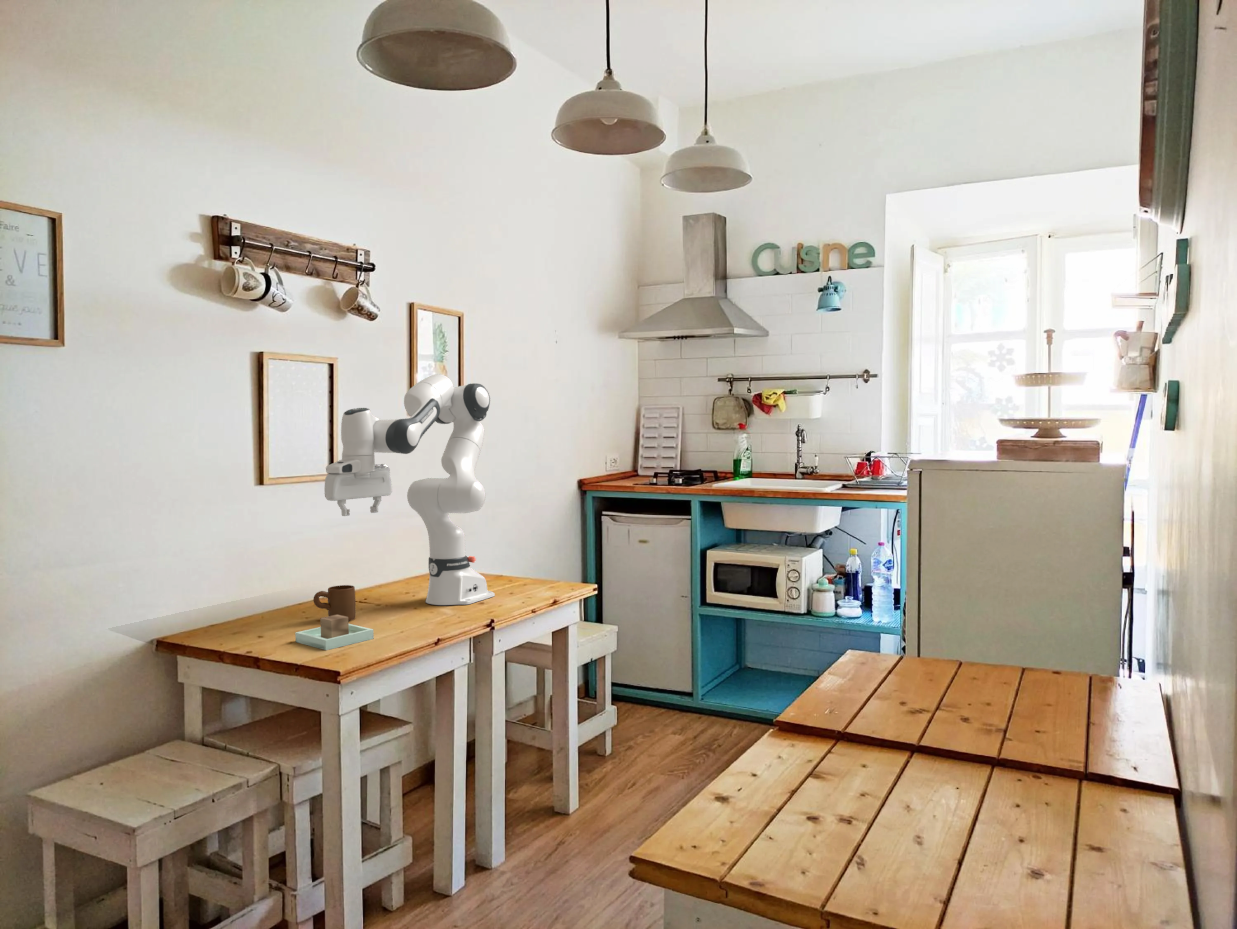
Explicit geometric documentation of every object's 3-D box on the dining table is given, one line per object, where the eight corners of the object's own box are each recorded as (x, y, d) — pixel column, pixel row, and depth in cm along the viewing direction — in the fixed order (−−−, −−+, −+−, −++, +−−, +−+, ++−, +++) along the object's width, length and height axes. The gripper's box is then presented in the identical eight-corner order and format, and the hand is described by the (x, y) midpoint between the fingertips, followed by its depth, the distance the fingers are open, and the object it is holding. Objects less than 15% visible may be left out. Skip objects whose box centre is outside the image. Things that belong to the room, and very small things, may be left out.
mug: (319, 626, 240) (318, 593, 239) (309, 622, 245) (308, 589, 245) (360, 619, 248) (359, 587, 247) (349, 615, 253) (348, 583, 253)
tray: (342, 631, 234) (342, 622, 234) (373, 638, 225) (373, 629, 225) (295, 642, 223) (295, 632, 223) (326, 650, 214) (325, 640, 214)
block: (337, 633, 228) (337, 614, 227) (348, 636, 224) (348, 617, 224) (320, 637, 224) (320, 618, 223) (331, 639, 220) (331, 620, 220)
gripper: (382, 463, 252) (384, 510, 253) (320, 467, 237) (322, 517, 237) (395, 463, 249) (397, 511, 249) (333, 467, 233) (335, 518, 233)
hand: (360, 514), depth 243 cm, fingers open, 8 cm apart
